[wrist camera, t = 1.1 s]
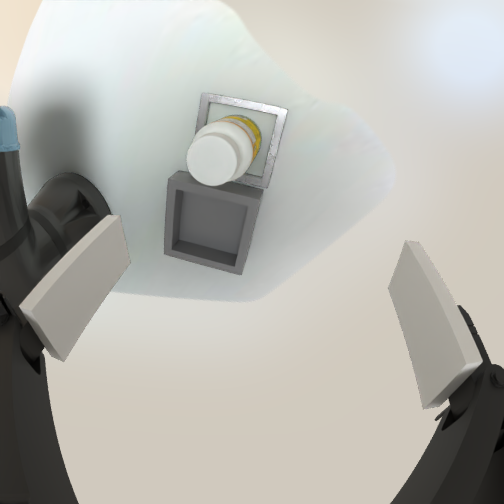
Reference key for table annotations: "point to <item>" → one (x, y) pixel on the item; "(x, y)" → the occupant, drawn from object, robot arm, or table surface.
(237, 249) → the bin
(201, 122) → the socket collar
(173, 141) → the table surface
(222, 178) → the supplement bottle
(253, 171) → the table surface
